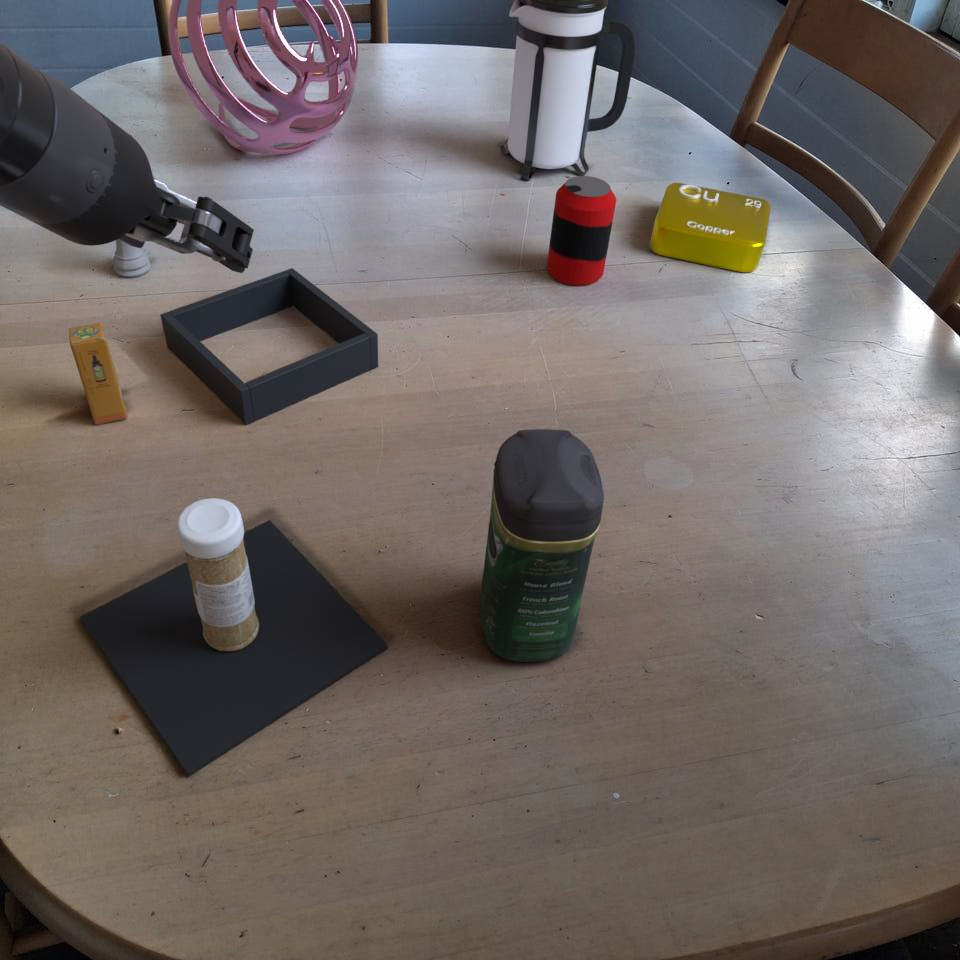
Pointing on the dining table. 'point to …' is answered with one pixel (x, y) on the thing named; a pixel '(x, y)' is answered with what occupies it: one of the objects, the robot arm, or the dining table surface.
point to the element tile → (711, 227)
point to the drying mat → (231, 674)
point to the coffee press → (560, 81)
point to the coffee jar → (539, 543)
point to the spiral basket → (288, 104)
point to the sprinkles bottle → (219, 572)
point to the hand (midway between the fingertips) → (192, 246)
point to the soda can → (581, 230)
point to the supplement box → (97, 373)
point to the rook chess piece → (130, 260)
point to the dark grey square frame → (286, 382)
